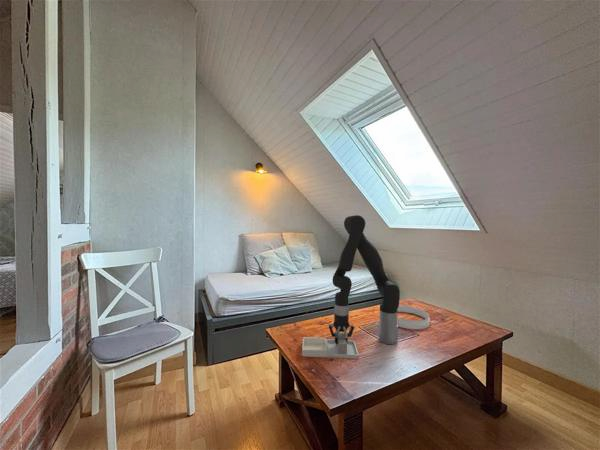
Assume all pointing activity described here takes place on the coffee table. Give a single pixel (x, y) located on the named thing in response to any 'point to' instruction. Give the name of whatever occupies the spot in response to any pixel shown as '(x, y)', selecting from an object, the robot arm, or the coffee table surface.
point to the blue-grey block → (341, 336)
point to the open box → (314, 347)
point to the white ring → (409, 323)
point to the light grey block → (342, 347)
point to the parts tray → (333, 349)
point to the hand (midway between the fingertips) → (341, 343)
